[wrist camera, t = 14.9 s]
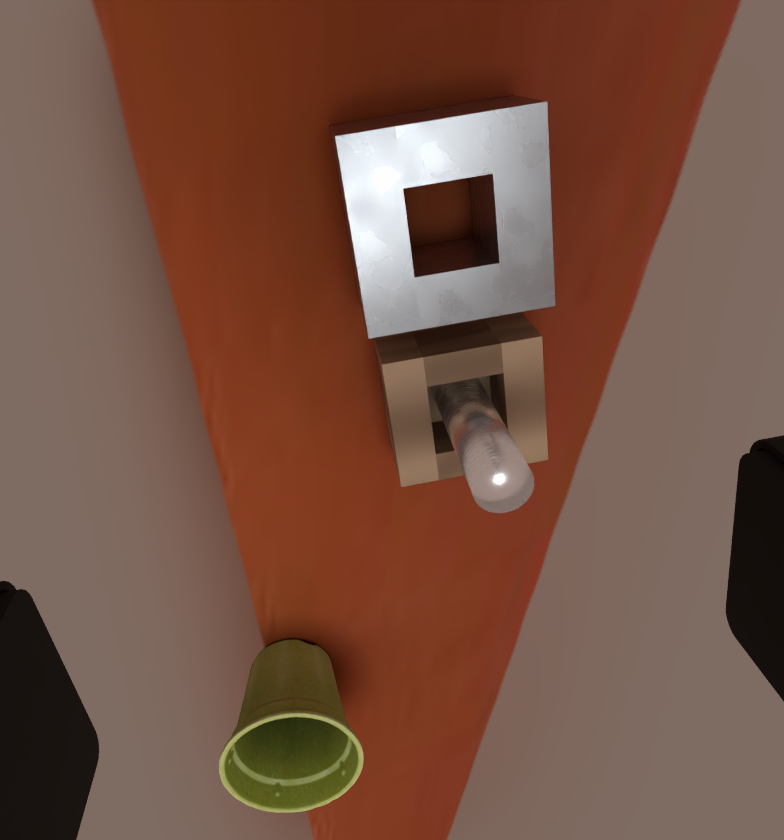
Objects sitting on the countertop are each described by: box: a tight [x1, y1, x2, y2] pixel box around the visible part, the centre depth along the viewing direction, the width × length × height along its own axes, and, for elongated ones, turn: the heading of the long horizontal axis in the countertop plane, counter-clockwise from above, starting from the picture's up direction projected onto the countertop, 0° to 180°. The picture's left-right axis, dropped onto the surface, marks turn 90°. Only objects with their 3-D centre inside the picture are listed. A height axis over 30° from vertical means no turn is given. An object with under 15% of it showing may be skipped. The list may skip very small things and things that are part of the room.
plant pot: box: [219, 640, 364, 812], centre depth 52 cm, size 9×9×9 cm
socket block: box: [330, 95, 555, 339], centre depth 39 cm, size 10×10×6 cm
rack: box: [374, 312, 548, 487], centre depth 44 cm, size 8×9×5 cm
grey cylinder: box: [431, 378, 534, 513], centre depth 40 cm, size 3×3×12 cm
